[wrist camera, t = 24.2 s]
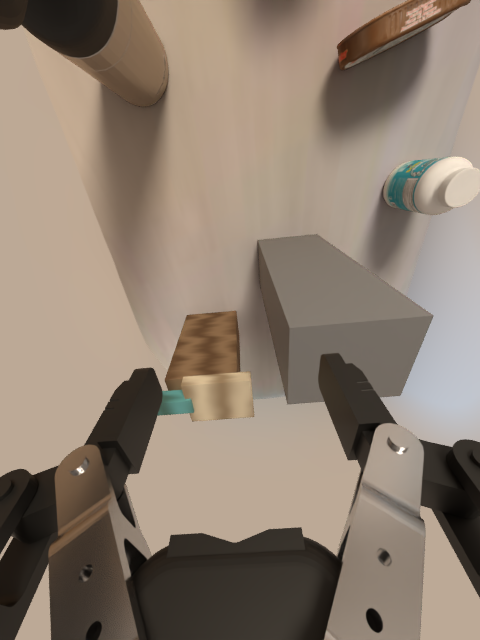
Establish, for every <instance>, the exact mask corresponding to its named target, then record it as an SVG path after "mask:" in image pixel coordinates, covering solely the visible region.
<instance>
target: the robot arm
mask: <svg viewBox="0 0 480 640" xmlns="http://www.w3.org/2000/svg"><path fill="white" fill-rule="evenodd" d="M20 25H22V26H23V27H25V28H26V29H27V30H28V31H29V32H30V33H31V34H33V35H34V36H35V37H36V38H38V39H39V40H41V41H42V42H43V43H45V44H46V45H48V46H49V47H51V48H52V49H54V50H55V51H57V52H58V53H60V54H61V55H62V56H64V57H65V58H67V59H68V60H70V61H71V62H72V63H74V64H75V65H77V66H78V67H80V68H81V69H82V70H84V71H85V72H87V73H88V74H90V75H91V76H92V77H94V78H95V79H97V80H98V81H99V82H101V83H102V84H104V85H105V86H106V87H108V88H109V89H111V90H112V91H113V92H115V93H116V94H117V95H119V96H120V97H122V98H123V99H125V100H126V101H128V102H129V103H131V104H133V105H136V106H143V107H146V106H150V105H152V104H154V103H156V102H157V101H158V100H159V99H160V98H161V97H162V95H163V93H164V91H165V89H166V85H167V81H168V62H167V56H166V53H165V50H164V47H163V44H162V42H161V40H160V38H159V36H158V34H157V33H156V31H155V29H154V27H153V25H152V23H151V21H150V19H149V18H148V16H147V14H146V12H145V10H144V8H143V6H142V5H141V3H140V1H139V0H0V29H3V30H8V29H15V28H18V27H19V26H20ZM318 384H319V388H320V391H321V394H322V396H323V399H324V401H325V404H326V406H327V409H328V411H329V414H330V416H331V419H332V421H333V424H334V426H335V429H336V431H337V434H338V436H339V439H340V441H341V444H342V447H343V449H344V452H345V454H346V456H347V459H348V460H358V463H359V465H360V467H361V470H360V473H359V477H358V481H357V485H356V488H355V492H354V496H353V499H352V503H351V507H350V511H349V514H348V518H347V521H346V524H345V527H344V531H343V534H342V537H341V541H340V544H339V548H338V552H337V556H335V555H334V554H333V553H332V552H331V551H329V550H328V549H327V548H326V547H324V546H322V545H321V544H319V543H318V542H316V541H313V540H311V539H309V538H306V537H303V534H302V529H301V528H284V529H269V530H266V531H264V532H261V533H259V534H257V535H254V536H252V537H250V538H247V539H245V540H242V541H240V542H237V543H232V542H229V541H226V540H222V539H219V538H216V537H213V536H210V535H206V534H203V533H198V534H182V535H171V536H170V542H169V546H167V547H165V548H163V549H161V550H160V551H158V552H157V553H155V554H154V555H153V556H152V555H151V552H150V550H149V547H148V545H147V543H146V540H145V539H144V537H143V535H142V533H141V530H140V527H139V524H138V521H137V518H136V515H135V512H134V508H133V506H132V502H131V499H130V496H129V492H128V489H127V486H126V484H125V482H126V479H127V476H128V474H137V473H139V471H140V467H141V465H142V461H143V458H144V455H145V452H146V449H147V446H148V443H149V440H150V437H151V434H152V431H153V428H154V424H155V421H156V418H157V415H158V412H159V409H160V406H161V403H162V397H163V393H162V389H161V386H160V384H159V381H158V378H157V376H156V373H155V371H154V369H153V368H141V369H135V370H134V372H133V373H132V375H131V377H130V379H129V381H124V382H123V383H122V384H121V385H120V386H119V387H118V388H117V389H116V390H115V392H114V394H113V395H112V397H111V399H110V402H108V404H107V406H106V408H105V410H104V411H103V413H102V415H101V416H100V418H99V420H98V422H97V424H96V426H95V427H94V429H93V431H92V433H91V434H90V436H89V438H88V440H87V441H86V443H85V445H84V446H82V447H79V448H77V449H75V450H74V451H72V452H71V453H70V454H68V456H66V457H65V458H64V460H63V461H62V462H61V463H60V465H59V466H56V467H54V468H51V469H48V470H45V471H43V472H40V473H37V474H35V475H31V474H30V473H29V472H28V471H27V470H24V469H17V470H14V471H11V472H9V473H7V474H5V475H3V476H2V477H0V554H1V552H2V550H3V549H4V547H5V545H6V543H7V542H8V540H9V538H10V536H12V537H14V538H13V539H12V541H11V543H10V545H9V546H8V548H7V550H6V552H5V553H4V555H3V557H2V559H1V560H0V640H15V637H16V635H17V633H18V630H19V628H20V626H21V624H22V622H23V619H24V617H25V615H26V613H27V610H28V608H29V606H30V603H31V601H32V599H33V597H34V594H35V592H36V590H37V588H38V585H39V583H40V581H41V579H42V576H43V574H44V572H45V569H46V567H47V565H48V563H49V589H50V615H51V616H50V617H51V640H420V629H421V610H422V592H423V591H422V590H423V573H424V554H425V553H424V552H425V523H424V520H423V519H421V517H420V505H421V506H425V507H428V508H431V509H432V510H433V512H434V514H435V516H436V518H437V520H438V522H439V523H440V525H441V527H442V529H443V531H444V532H445V534H446V536H447V538H448V540H449V542H450V544H451V546H452V547H453V549H454V551H455V553H456V554H457V557H458V558H459V560H460V562H461V564H462V566H463V568H464V569H465V572H466V573H467V575H468V577H469V579H470V581H471V582H472V584H473V586H474V588H475V590H476V592H477V594H478V595H479V597H480V442H477V441H473V440H459V441H457V442H456V443H455V444H454V445H453V447H449V446H445V445H440V444H435V443H431V442H427V441H423V440H420V439H418V438H417V437H416V436H415V435H414V434H413V433H412V432H410V431H409V430H407V429H406V428H404V427H402V426H399V425H398V424H397V423H396V422H395V420H394V419H393V417H392V416H391V415H390V413H389V411H388V410H387V409H386V407H385V405H384V404H383V402H382V401H381V399H380V398H379V396H378V394H377V393H376V391H375V390H374V389H373V387H372V385H371V384H370V382H368V379H367V378H366V376H365V375H364V373H363V372H362V370H360V369H359V368H358V367H356V366H355V365H354V364H353V363H348V364H346V363H345V362H344V360H343V358H342V356H341V355H340V354H339V353H330V354H322V355H321V358H320V366H319V374H318Z"/></svg>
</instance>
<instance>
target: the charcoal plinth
mask: <svg viewBox="0 0 480 640" xmlns="http://www.w3.org/2000/svg"><path fill="white" fill-rule="evenodd" d="M258 255H259V276H260V288H261V292H262V296H263V301H264V305H265V309H266V314H267V318H268V322H269V327H270V331H271V335H272V339H273V344H274V348H275V352H276V357H277V361H278V365H279V370H280V374H281V378H282V383H283V387H284V391H285V395H286V400H287V404H297V403H311V402H324V399H323V396H322V394H321V391H320V388H319V384H318V374H319V366H320V358H321V355H322V354H330V353H339V354H340V355H341V356H342V358H343V360H344V362H345V363H346V364H348V363H353V364H354V365H355V366H356V367H358V368H359V369H360V370H362V372H363V373H364V375H365V376H366V378H367V379H368V382H370V384H371V385H372V387H373V389H374V390H375V391H376V393H377V394H378V396H379V397H390V396H400V395H401V393H402V391H403V388H404V386H405V383H406V381H407V378H408V376H409V374H410V371H411V369H412V366H413V364H414V362H415V359H416V357H417V354H418V352H419V349H420V347H421V345H422V342H423V340H424V337H425V335H426V333H427V330H428V328H429V325H430V323H431V321H432V318H433V315H432V314H431V313H429V312H428V311H426V310H425V309H423V308H422V307H420V306H419V305H418V304H416V303H415V302H413V301H412V300H410V299H409V298H408V297H406V296H405V295H403V294H402V293H400V292H399V291H398V290H396V289H395V288H393V287H392V286H390V285H389V284H388V283H386V282H385V281H383V280H382V279H380V278H379V277H378V276H376V275H375V274H373V273H372V272H370V271H369V270H368V269H366V268H365V267H363V266H362V265H360V264H359V263H357V262H356V261H355V260H353V259H352V258H350V257H349V256H347V255H346V254H345V253H343V252H342V251H340V250H339V249H337V248H336V247H335V246H333V245H332V244H330V243H329V242H327V241H326V240H325V239H323V238H322V237H320V236H319V235H317V234H315V235H305V236H295V237H285V238H275V239H265V240H258Z"/></svg>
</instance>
